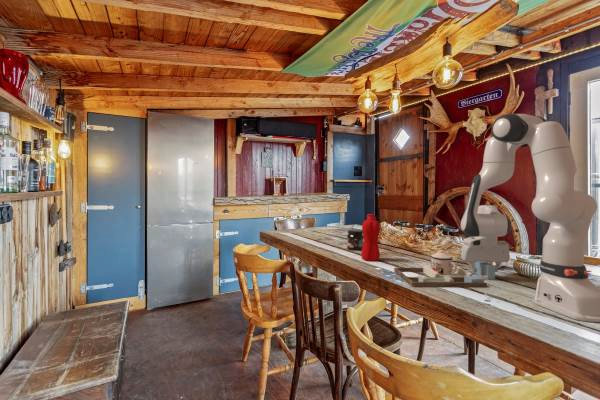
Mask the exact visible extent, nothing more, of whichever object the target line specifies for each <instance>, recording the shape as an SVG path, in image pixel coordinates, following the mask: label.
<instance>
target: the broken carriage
mask: <svg viewBox="0 0 600 400" xmlns="http://www.w3.org/2000/svg"><path fill="white" fill-rule="evenodd" d="M478 276H479V275H473V276H464V282H485V280H484V278H481V277H478ZM417 277H418V282H454V280H453V279H452V278H450V277H449V276H447V275H444V278H424V277H425V276H423V275H422V274H421V275H420V274H418V275H417Z"/></svg>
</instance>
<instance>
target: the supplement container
mask: <svg viewBox="0 0 600 400" xmlns="http://www.w3.org/2000/svg"><path fill="white" fill-rule="evenodd" d="M363 243H364V237H363V231H362V229H348V230H347V235H346V248H347V249H348V250H350V251H362V247H363Z"/></svg>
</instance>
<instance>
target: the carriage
mask: <svg viewBox="0 0 600 400" xmlns="http://www.w3.org/2000/svg"><path fill="white" fill-rule="evenodd" d="M456 266H457V265H456ZM475 267H476V268H477V272H473V271H472V269H463V268H462V267H459V266H457V270H456V272H455V273H454V274H456V275H452V276H449V277H464V276H474V275H476V276H478V277H481V278H484V281H489V280H490V281H493V280H496V272H495V265H494V264H491V263H490V262H488V263H487V262H475ZM422 268H423V272H422V273H424V274H425V275H426V276H427V277H444V276H439V273H437V272H435V271H434V270H432V269H431V267H428V266H427V265H422ZM453 271H454V267H452V272H453Z"/></svg>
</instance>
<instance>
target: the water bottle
mask: <svg viewBox="0 0 600 400" xmlns="http://www.w3.org/2000/svg"><path fill="white" fill-rule="evenodd" d="M361 230H362V231H363V234H362V235H363V237H364V238H363V247H362V250H360V251H361V255H360V256H361V259H362V260H364V261H366V262H376V261H379V260H380V257H381V253H380V247H379V242H378V241H379V237H380V239H382V238H383V233H381V234H382V235H381V236H380V231H381V230H383V229H382V227H381V224H380V223H379V221H378V220H377V218H376V215H375V214H373V213H368V214H367V215H366V219H365V220H363V222H362V227H361Z"/></svg>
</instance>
